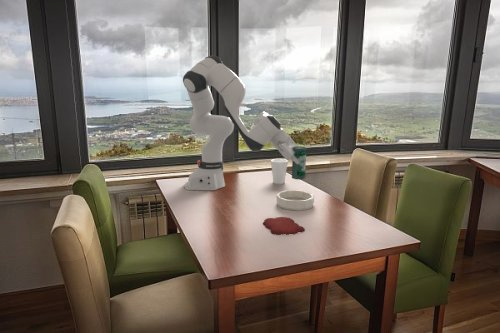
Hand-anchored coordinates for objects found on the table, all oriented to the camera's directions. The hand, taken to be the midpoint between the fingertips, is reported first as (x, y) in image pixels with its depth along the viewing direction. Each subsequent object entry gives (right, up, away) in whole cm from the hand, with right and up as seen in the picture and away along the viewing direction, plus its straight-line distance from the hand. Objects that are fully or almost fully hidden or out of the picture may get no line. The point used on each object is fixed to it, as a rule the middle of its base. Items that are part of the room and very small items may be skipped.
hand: (300, 161), depth 180 cm
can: (-1, -8, +2) cm, 8 cm away
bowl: (-3, -20, -2) cm, 21 cm away
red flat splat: (-11, -27, -28) cm, 41 cm away
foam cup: (-8, -12, +35) cm, 37 cm away
